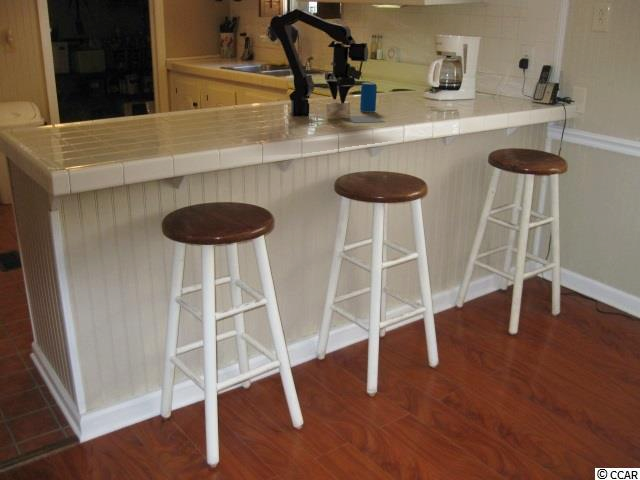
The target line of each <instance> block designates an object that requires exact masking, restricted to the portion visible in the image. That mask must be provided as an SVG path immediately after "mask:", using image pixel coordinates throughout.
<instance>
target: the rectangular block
mask: <svg viewBox="0 0 640 480" xmlns="http://www.w3.org/2000/svg"><path fill="white" fill-rule="evenodd" d="M350 116H351V102H350V101H345V102H344V103H341V101H339V102H327V103H326V118H327V119H328V120H337V119H338V120H339V119H345V118H350Z"/></svg>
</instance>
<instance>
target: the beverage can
mask: <svg viewBox="0 0 640 480" xmlns="http://www.w3.org/2000/svg"><path fill="white" fill-rule="evenodd" d="M377 90H378V86H377V83H376V82H371V81H368V82H367V81H366V82H362V83H361V85H360V104H359V106H360V107H359V110H360V111H361V112H363V113H367V114H369V113H374V112H375V111H376V108H377V105H376V104H377Z"/></svg>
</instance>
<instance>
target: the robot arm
mask: <svg viewBox="0 0 640 480" xmlns="http://www.w3.org/2000/svg"><path fill="white" fill-rule="evenodd" d="M299 21H300V22H301V23H303V24H306V25H308V26H310V27H313V28H315V29H317V30H319V31H321V32H324V33H325V34H326V35H327V36H328V37H329V38H332V40H331V42H330V44H328V46H327V47H328V48H333V53H332V55H333V58H332V61H331V63H330V65H331V66H332V71H327V72H325V74H324V80H325V83H326V84H327V86H328V90H329V91H330V94H331V97H332V99H333V100H337V97H338V96H339V100H340V102H341V103H344V102H346V98H347V96H348V93H349V90H351V88H353V87H354V86H356V80H358V81H359V80H360V79H361V77H362V73H363V72H362V71H359V70H358V69H356V67H355V66H353V65H351V64H350V63H349V59H350V60H351V61H352V62H365V63H366V62H368V59H369V48H368V47H369V46H368V42H356V40H354V39H355V38H353V36H352V32H351V29H350V27H349V26H348V25H345V24H340V23H335V22H331V21H328V20H326V19H324V18H321V17H319V16H317V15H315V14H313V13H311V12H307V11H306V10H304V9H303V8H296V9H293V10H292V11H289V12H287V13H284V14H282V15H275V16H273V17H272V18H271V19H270V21H269V22H270V23H269V25H270V28H271V30H272V32H273V33H274V36H275V37H277V39H278V40H279V41H280V43H281V46H282V48H283V52H284V54H285V57H286V60H287V62H288V64H289V67H290V70H291V73H292V75H293V86H294V90H293V91H292V92H291V93H290V94H289V95H288V97H289V99H290V104H291V105H290V109H291V111H290V112H289V114H290V115H292V116H293V117H309V116H310V103H309V98H310V96H311V95H312V94H313V93H314V91H315V86H314V85H315V84H316V83H315V82H314V81H313V77H312V75H311V74H307V73H306V72H305V70H304V67H303V64H302V61H301V59H300V56H299V54H298V50H297V49H296V45H295V43H294V40H293V38H292V25H294V24H297V22H299Z"/></svg>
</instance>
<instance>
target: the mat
mask: <svg viewBox="0 0 640 480" xmlns="http://www.w3.org/2000/svg"><path fill="white" fill-rule="evenodd" d="M344 119H345V120H347V121H349V122H351V123H353V124H365V123H366V124H370V123H386V121H385V120H383V119H381V118H378V117H376V116H374V115H370V114H369V115H350V118H344Z"/></svg>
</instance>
